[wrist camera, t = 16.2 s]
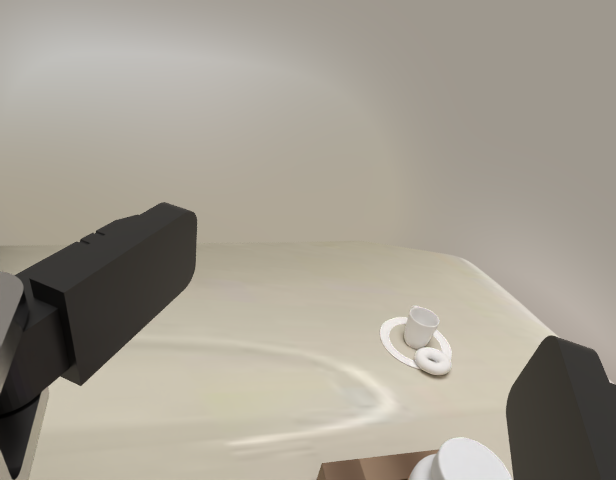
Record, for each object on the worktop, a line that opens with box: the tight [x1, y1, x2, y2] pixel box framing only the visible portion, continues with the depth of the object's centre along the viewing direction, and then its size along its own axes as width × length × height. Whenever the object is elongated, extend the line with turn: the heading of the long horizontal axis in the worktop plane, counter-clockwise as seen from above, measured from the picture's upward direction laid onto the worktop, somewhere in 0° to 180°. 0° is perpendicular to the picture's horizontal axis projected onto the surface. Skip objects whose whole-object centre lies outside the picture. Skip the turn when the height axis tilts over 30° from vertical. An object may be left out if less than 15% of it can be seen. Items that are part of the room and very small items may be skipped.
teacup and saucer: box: [380, 305, 452, 375], centre depth 42 cm, size 9×8×4 cm
